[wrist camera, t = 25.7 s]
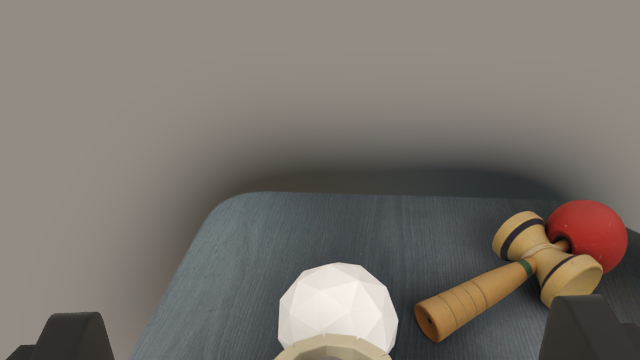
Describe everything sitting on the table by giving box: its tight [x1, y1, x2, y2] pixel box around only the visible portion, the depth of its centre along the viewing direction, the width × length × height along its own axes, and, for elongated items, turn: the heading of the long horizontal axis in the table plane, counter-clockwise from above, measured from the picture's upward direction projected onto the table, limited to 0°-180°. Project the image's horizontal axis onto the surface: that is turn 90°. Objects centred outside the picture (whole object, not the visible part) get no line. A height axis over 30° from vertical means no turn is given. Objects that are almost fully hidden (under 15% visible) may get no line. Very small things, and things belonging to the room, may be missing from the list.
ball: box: [278, 262, 398, 355], centre depth 40 cm, size 8×8×8 cm
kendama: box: [414, 200, 627, 343], centre depth 45 cm, size 8×6×18 cm
